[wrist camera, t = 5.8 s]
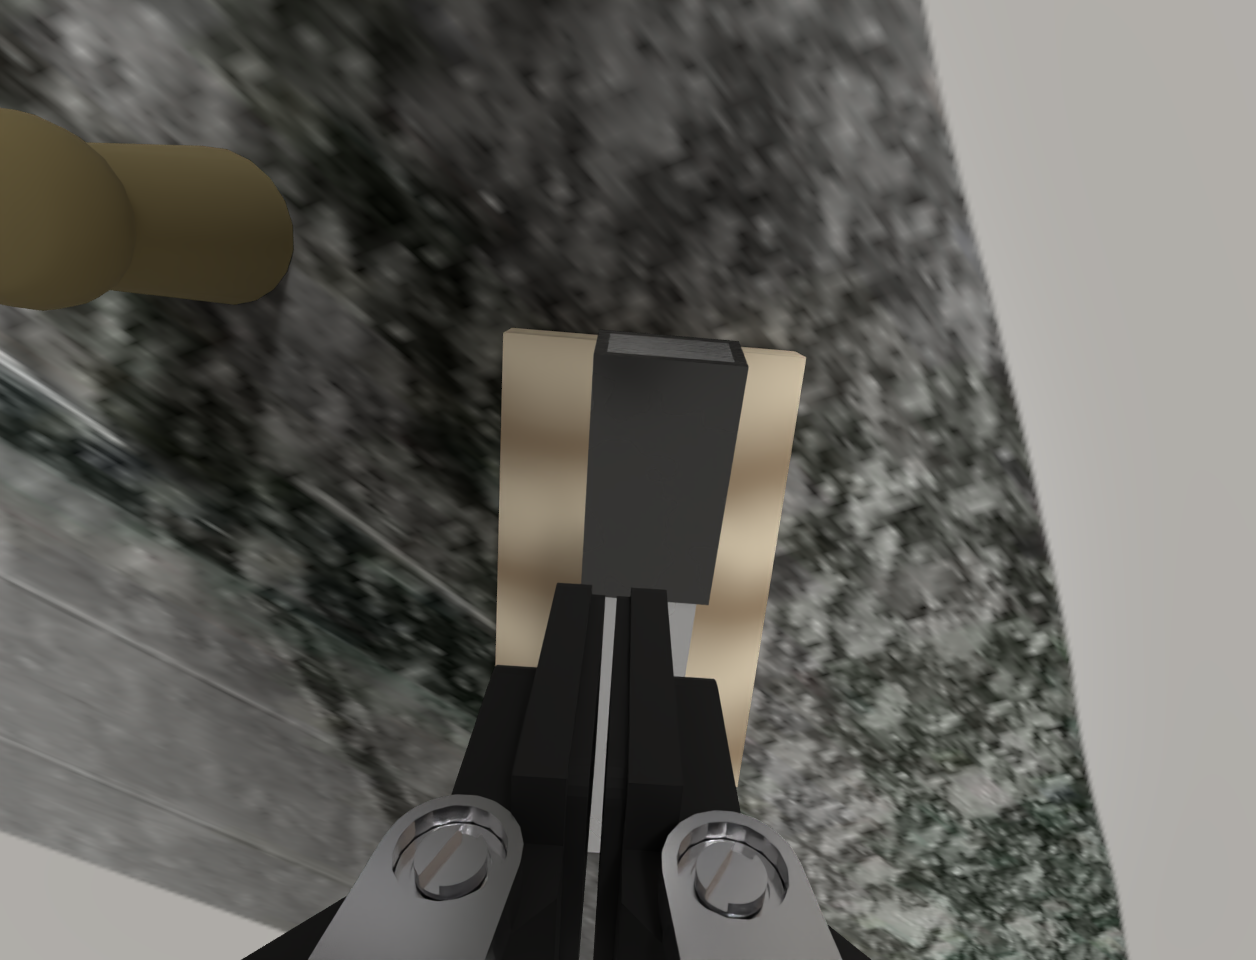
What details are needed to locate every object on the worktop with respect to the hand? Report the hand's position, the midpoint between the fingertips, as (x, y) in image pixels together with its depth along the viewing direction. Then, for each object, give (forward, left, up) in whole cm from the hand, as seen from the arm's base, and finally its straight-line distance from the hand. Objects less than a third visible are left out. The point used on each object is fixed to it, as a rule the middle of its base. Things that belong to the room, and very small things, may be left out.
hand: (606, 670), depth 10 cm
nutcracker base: (+8, +1, -20) cm, 22 cm away
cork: (-6, -17, -20) cm, 27 cm away
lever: (+5, +1, -12) cm, 13 cm away
